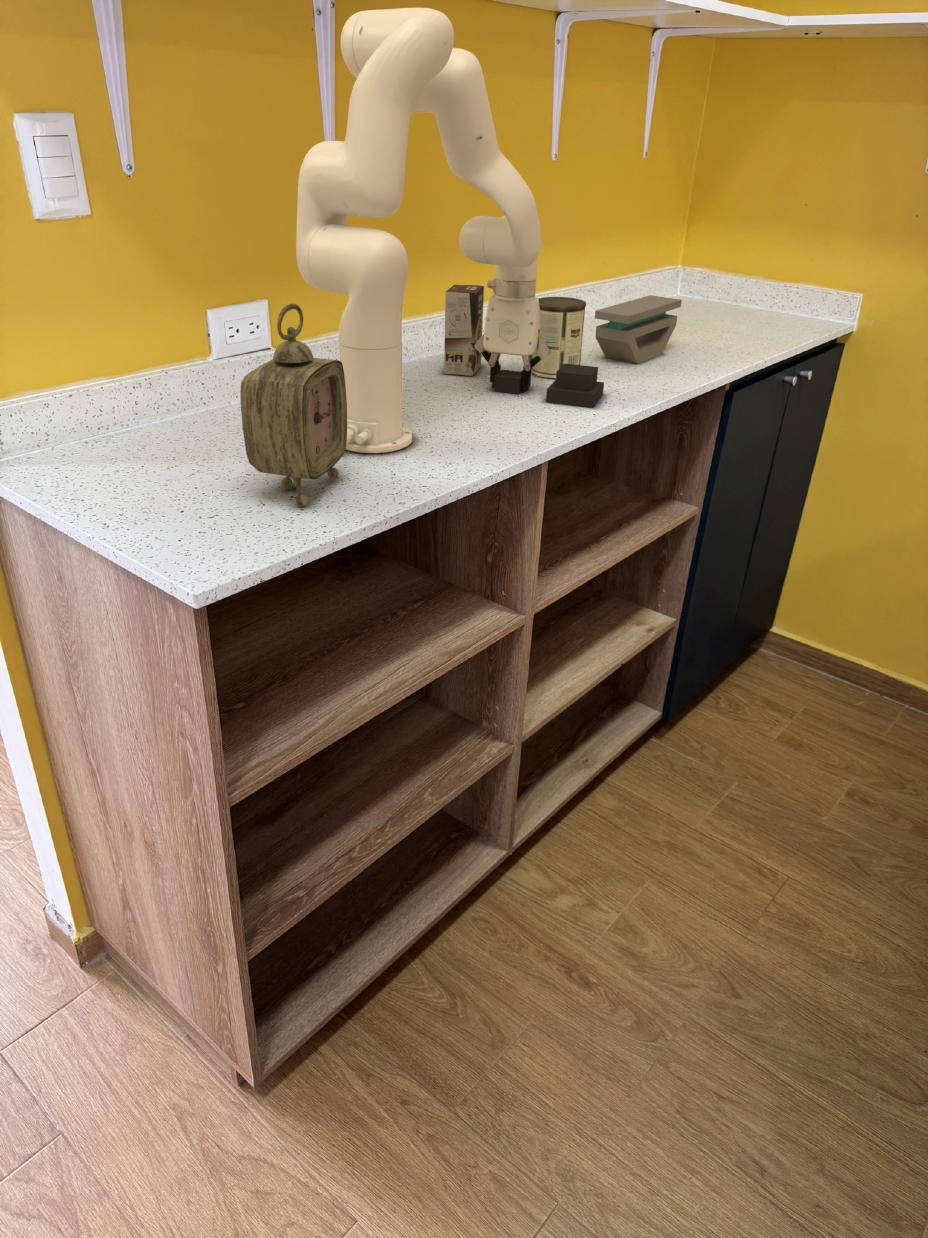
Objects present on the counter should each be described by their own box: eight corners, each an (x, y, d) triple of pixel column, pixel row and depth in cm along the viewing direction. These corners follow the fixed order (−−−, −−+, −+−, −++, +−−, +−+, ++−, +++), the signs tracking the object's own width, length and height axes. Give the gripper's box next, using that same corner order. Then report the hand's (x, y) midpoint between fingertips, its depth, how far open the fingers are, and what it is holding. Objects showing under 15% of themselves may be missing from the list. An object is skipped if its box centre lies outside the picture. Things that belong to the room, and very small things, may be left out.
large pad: (593, 407, 161) (594, 394, 160) (545, 402, 163) (546, 388, 162) (602, 395, 168) (604, 382, 167) (557, 389, 171) (558, 376, 170)
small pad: (518, 394, 167) (519, 378, 166) (493, 391, 169) (494, 375, 167) (525, 387, 172) (526, 372, 170) (501, 384, 173) (501, 369, 171)
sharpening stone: (644, 343, 207) (650, 294, 201) (674, 349, 203) (681, 299, 197) (590, 363, 189) (595, 310, 184) (622, 369, 185) (628, 316, 180)
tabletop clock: (308, 513, 117) (295, 318, 104) (246, 505, 119) (225, 312, 106) (349, 476, 129) (342, 296, 116) (293, 468, 131) (279, 291, 118)
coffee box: (474, 376, 178) (476, 292, 169) (443, 374, 179) (444, 290, 170) (482, 365, 185) (485, 284, 177) (452, 363, 186) (454, 282, 178)
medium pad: (589, 391, 161) (591, 375, 160) (555, 387, 163) (556, 371, 162) (596, 382, 167) (598, 366, 165) (563, 379, 168) (564, 363, 167)
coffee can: (540, 363, 188) (544, 294, 181) (586, 369, 184) (592, 299, 177) (522, 374, 180) (526, 302, 173) (570, 381, 176) (576, 308, 169)
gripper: (464, 288, 160) (461, 387, 169) (555, 296, 156) (548, 398, 165) (477, 282, 166) (474, 378, 175) (565, 289, 162) (557, 388, 171)
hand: (509, 387), depth 170 cm, fingers closed on small pad, 5 cm apart
